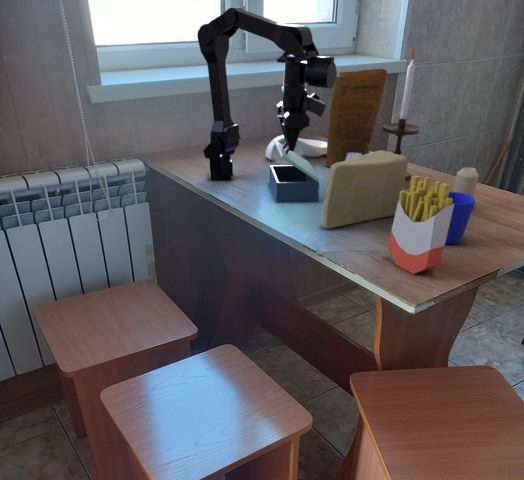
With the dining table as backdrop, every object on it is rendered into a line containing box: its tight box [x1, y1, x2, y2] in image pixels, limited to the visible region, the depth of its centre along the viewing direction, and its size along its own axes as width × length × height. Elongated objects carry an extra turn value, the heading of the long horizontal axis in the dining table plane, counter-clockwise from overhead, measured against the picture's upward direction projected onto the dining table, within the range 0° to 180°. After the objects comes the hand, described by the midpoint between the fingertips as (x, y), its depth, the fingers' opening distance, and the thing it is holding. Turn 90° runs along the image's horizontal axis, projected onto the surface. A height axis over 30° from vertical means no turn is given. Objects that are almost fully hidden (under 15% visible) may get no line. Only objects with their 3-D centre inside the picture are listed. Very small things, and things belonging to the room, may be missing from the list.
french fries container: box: [388, 175, 454, 275], centre depth 103 cm, size 5×11×18 cm, turn 31°
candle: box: [452, 166, 480, 198], centre depth 136 cm, size 6×6×10 cm
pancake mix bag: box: [325, 68, 388, 167], centre depth 161 cm, size 7×19×28 cm, turn 109°
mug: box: [445, 191, 476, 245], centre depth 117 cm, size 8×12×10 cm
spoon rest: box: [264, 134, 327, 161], centre depth 175 cm, size 24×12×7 cm, turn 114°
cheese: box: [322, 150, 409, 230], centre depth 125 cm, size 22×10×15 cm, turn 127°
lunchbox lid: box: [274, 138, 321, 183], centre depth 140 cm, size 12×16×5 cm
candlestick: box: [382, 46, 421, 181], centre depth 150 cm, size 11×11×35 cm
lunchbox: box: [268, 164, 320, 203], centre depth 145 cm, size 11×16×5 cm
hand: (290, 148), depth 139 cm, fingers closed on lunchbox lid, 6 cm apart
